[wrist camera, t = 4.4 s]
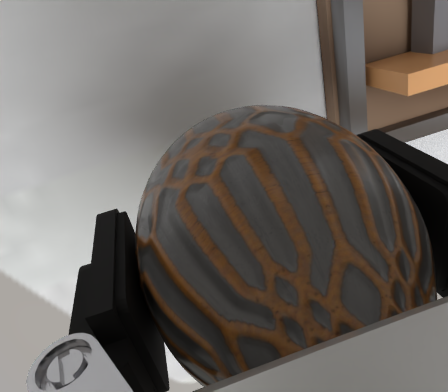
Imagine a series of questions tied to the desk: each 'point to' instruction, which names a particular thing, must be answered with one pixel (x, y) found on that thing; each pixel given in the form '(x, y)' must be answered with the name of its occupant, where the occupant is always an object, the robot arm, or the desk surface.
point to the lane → (366, 53)
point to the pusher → (417, 54)
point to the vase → (274, 240)
